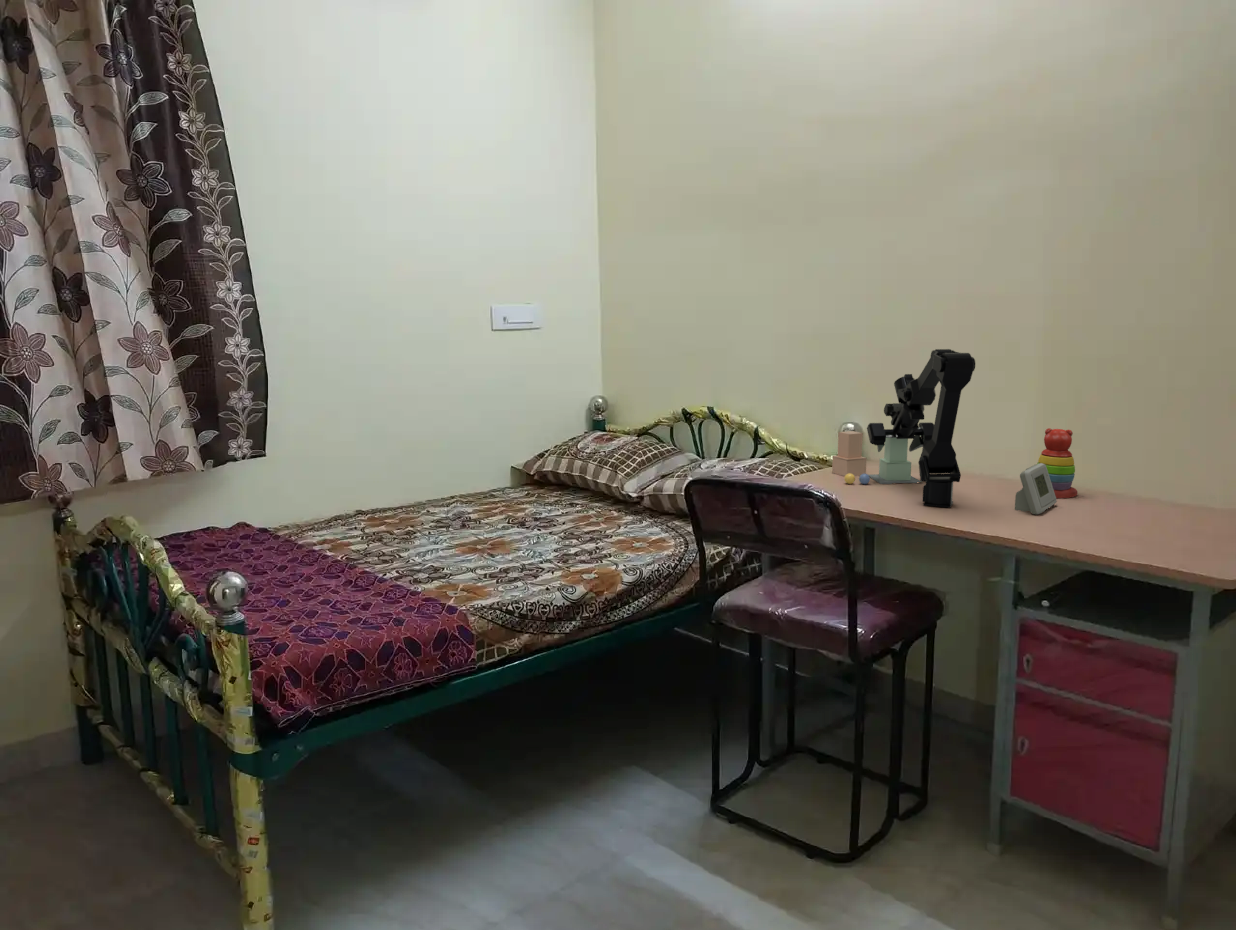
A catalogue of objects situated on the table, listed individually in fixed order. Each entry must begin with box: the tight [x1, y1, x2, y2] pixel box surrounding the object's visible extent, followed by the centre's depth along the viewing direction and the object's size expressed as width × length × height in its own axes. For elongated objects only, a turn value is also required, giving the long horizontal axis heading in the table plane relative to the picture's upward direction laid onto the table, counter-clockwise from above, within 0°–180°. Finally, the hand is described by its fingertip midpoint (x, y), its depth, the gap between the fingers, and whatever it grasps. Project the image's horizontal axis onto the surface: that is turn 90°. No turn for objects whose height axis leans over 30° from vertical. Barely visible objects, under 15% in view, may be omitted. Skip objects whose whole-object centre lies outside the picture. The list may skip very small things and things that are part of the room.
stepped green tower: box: [878, 438, 912, 480], centre depth 269 cm, size 7×7×12 cm
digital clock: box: [1014, 463, 1057, 515], centre depth 231 cm, size 16×9×11 cm, turn 130°
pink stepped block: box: [831, 430, 868, 477], centre depth 279 cm, size 7×7×12 cm
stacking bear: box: [1037, 428, 1078, 499], centre depth 247 cm, size 11×10×18 cm
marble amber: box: [843, 473, 856, 485], centre depth 264 cm, size 3×3×3 cm
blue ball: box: [858, 473, 871, 485], centre depth 264 cm, size 3×3×3 cm
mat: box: [868, 473, 923, 485], centre depth 270 cm, size 12×12×1 cm
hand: (894, 450), depth 270 cm, fingers open, 9 cm apart
